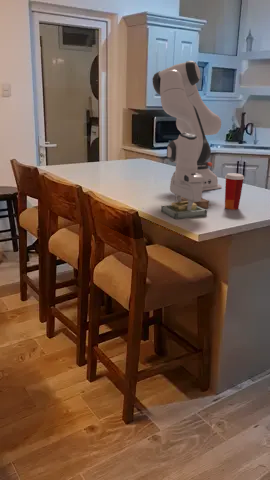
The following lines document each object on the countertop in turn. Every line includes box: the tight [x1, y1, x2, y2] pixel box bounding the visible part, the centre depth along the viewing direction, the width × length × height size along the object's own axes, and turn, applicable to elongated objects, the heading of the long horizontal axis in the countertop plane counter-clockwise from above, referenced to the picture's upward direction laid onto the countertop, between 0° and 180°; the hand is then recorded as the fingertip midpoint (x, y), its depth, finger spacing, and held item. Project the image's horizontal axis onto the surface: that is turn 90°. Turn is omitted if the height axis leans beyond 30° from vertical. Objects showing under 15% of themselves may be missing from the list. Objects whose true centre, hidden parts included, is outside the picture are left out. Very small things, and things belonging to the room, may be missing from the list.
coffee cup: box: [224, 172, 245, 211], centre depth 191 cm, size 8×8×15 cm
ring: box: [171, 201, 197, 211], centre depth 181 cm, size 10×6×2 cm, turn 113°
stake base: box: [181, 197, 210, 209], centre depth 195 cm, size 10×10×3 cm
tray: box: [160, 204, 208, 220], centre depth 181 cm, size 15×12×2 cm
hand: (183, 207), depth 181 cm, fingers closed on ring, 6 cm apart
